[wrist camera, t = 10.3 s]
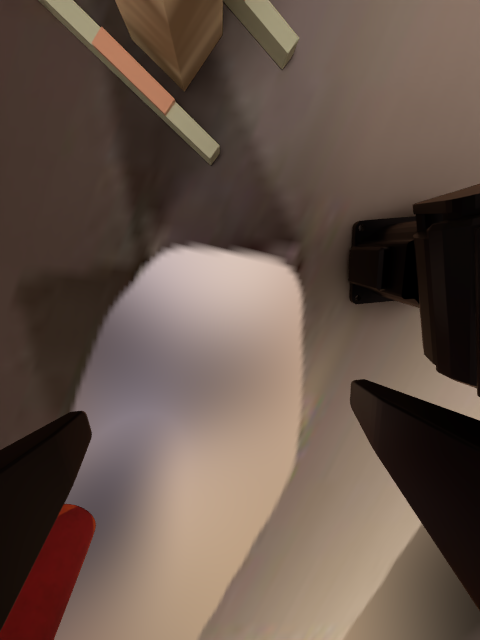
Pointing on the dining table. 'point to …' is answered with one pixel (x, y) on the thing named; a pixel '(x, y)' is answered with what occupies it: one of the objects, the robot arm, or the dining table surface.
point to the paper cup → (51, 578)
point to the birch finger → (175, 33)
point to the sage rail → (246, 5)
